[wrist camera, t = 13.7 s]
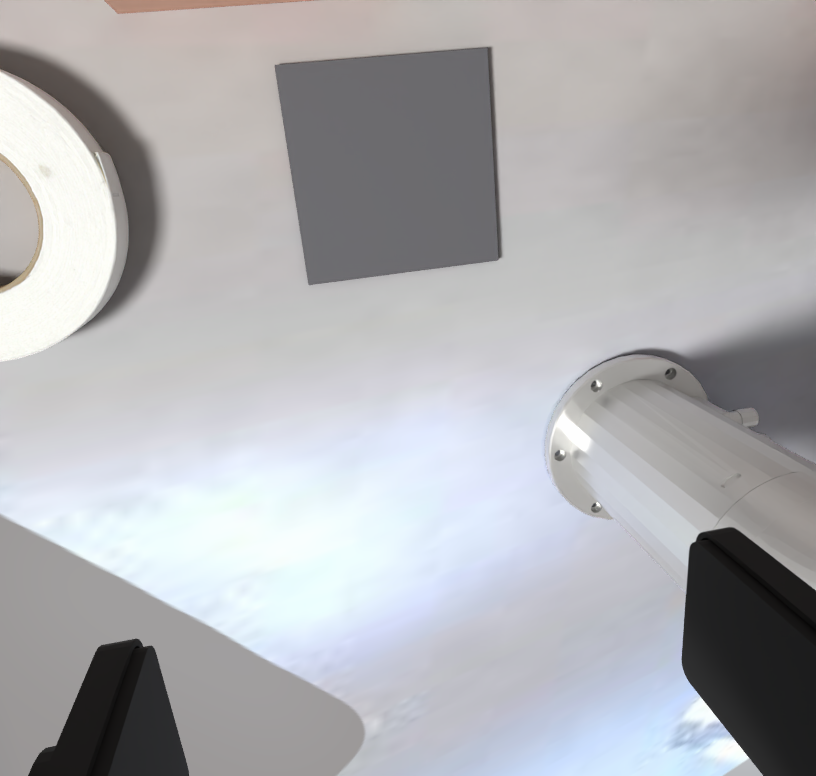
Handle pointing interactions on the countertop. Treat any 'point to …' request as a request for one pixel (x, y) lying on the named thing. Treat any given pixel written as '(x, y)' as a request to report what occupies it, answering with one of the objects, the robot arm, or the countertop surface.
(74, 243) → the roll of tape
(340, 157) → the rubber mat
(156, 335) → the countertop surface
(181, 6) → the hole block
